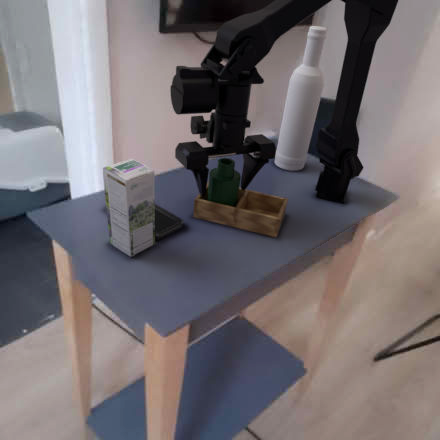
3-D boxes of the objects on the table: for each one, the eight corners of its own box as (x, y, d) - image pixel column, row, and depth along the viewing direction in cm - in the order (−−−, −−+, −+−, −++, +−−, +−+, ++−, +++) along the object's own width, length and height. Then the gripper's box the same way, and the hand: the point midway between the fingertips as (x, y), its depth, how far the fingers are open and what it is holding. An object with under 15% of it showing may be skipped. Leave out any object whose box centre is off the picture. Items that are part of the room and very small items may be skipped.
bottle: (271, 167, 100) (296, 26, 80) (276, 155, 106) (302, 22, 86) (301, 173, 99) (336, 32, 79) (306, 162, 104) (338, 27, 84)
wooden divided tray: (284, 215, 82) (288, 198, 80) (276, 237, 76) (280, 219, 73) (207, 197, 85) (208, 180, 82) (193, 217, 79) (194, 199, 76)
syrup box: (134, 232, 73) (129, 156, 63) (156, 245, 70) (155, 168, 61) (109, 244, 69) (100, 165, 60) (131, 259, 67) (126, 179, 57)
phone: (155, 236, 70) (103, 204, 77) (155, 242, 71) (104, 209, 78) (186, 221, 75) (135, 191, 81) (186, 226, 76) (135, 196, 82)
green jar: (239, 205, 82) (245, 158, 76) (231, 218, 78) (237, 171, 71) (212, 198, 83) (216, 152, 77) (203, 211, 79) (206, 164, 72)
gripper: (253, 94, 77) (242, 170, 87) (163, 99, 69) (164, 181, 80) (285, 113, 70) (270, 193, 80) (189, 121, 62) (186, 208, 73)
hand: (222, 193), depth 78 cm, fingers open, 9 cm apart
